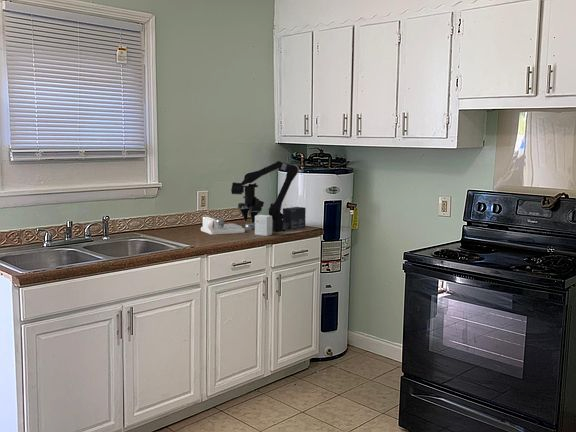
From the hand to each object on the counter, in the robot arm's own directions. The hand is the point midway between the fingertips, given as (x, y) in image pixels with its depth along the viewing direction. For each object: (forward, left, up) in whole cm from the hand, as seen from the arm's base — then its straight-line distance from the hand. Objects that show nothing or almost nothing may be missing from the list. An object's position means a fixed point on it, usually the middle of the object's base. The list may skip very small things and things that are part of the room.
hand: (249, 221), depth 345 cm
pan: (-1, +14, -2) cm, 14 cm away
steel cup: (0, 0, -4) cm, 5 cm away
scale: (-1, +18, -4) cm, 18 cm away
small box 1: (-19, +1, -5) cm, 19 cm away
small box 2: (-5, -27, -5) cm, 28 cm away
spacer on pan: (+3, +18, -1) cm, 18 cm away
